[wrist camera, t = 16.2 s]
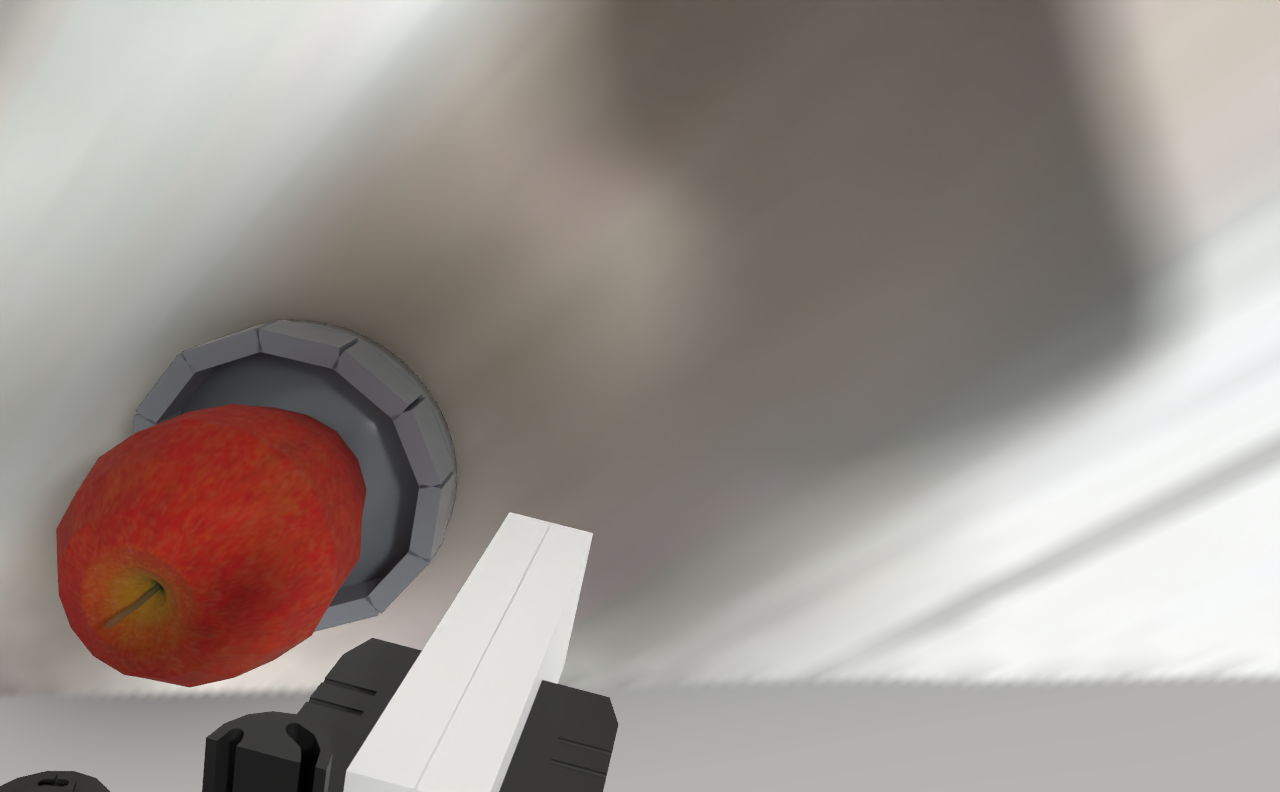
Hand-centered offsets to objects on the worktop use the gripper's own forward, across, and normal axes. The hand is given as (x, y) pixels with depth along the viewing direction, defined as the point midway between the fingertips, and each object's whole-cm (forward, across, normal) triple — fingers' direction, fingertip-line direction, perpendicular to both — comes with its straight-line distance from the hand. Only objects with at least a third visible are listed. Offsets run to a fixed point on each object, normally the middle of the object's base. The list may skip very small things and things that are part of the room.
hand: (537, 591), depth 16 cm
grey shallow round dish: (+24, -15, -11) cm, 30 cm away
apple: (+23, -15, -11) cm, 30 cm away
